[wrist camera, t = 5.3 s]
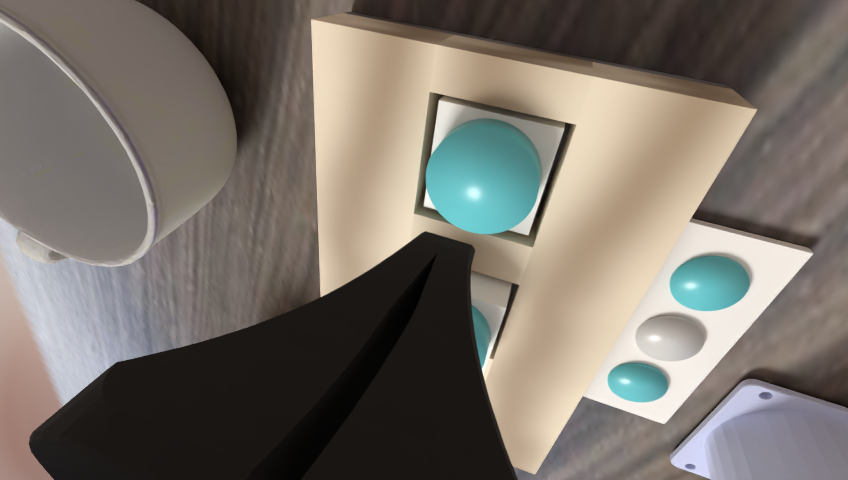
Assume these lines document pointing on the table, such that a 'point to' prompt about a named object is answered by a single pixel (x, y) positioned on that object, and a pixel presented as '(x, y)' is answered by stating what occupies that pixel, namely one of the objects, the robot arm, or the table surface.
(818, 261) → the table surface
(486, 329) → the button mid
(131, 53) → the teacup
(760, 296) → the card
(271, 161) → the table surface
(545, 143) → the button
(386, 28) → the button board
